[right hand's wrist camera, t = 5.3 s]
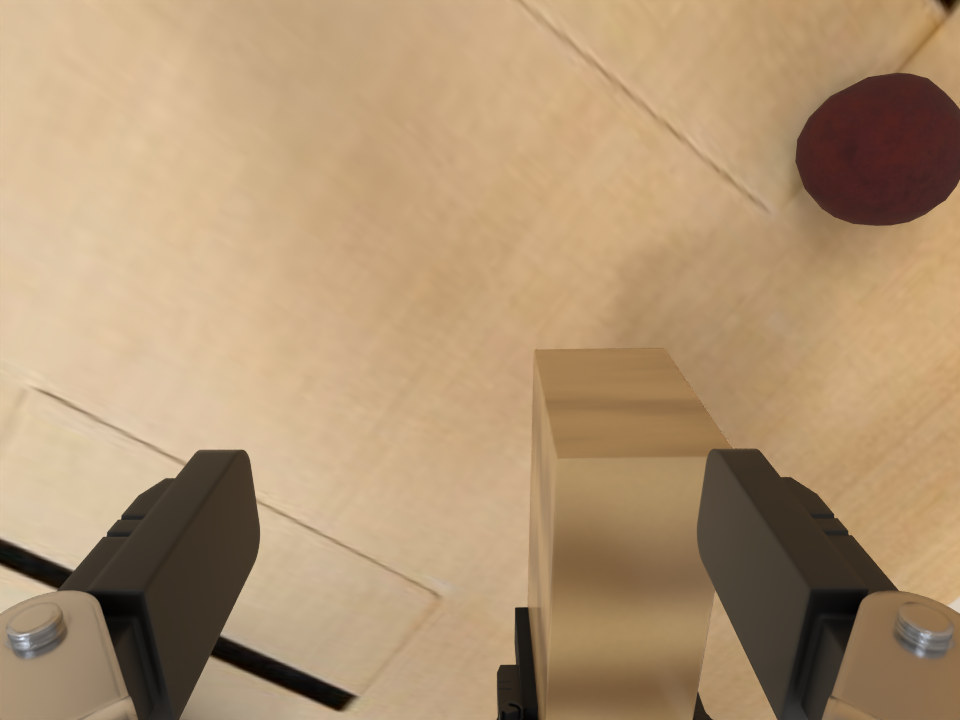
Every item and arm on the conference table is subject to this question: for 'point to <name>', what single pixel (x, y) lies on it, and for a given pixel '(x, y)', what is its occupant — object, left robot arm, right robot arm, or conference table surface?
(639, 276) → the conference table surface
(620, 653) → the box
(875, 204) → the potato
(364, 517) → the conference table surface
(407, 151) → the conference table surface
